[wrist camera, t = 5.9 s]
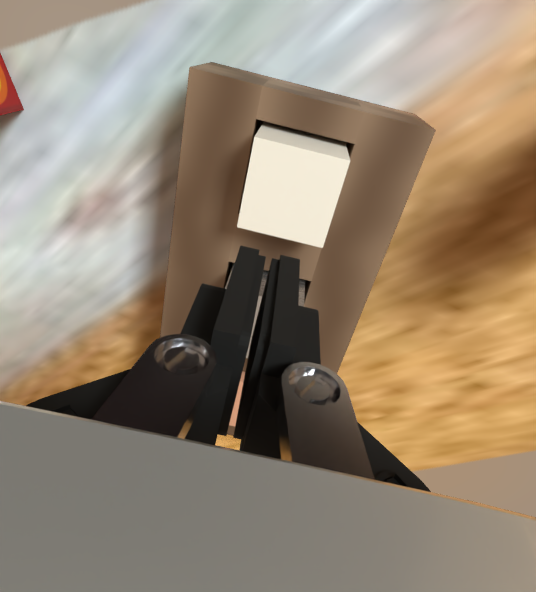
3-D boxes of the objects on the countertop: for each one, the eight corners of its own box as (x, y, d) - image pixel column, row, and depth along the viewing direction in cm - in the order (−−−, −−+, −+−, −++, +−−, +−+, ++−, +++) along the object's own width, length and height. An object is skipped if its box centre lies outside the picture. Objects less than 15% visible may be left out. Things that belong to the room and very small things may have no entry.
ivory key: (345, 142, 23) (350, 160, 19) (321, 219, 25) (322, 248, 22) (263, 121, 23) (254, 136, 19) (247, 201, 25) (236, 227, 21)
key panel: (415, 114, 25) (435, 129, 21) (306, 404, 37) (304, 451, 33) (211, 62, 24) (189, 67, 20) (170, 373, 37) (151, 416, 33)
